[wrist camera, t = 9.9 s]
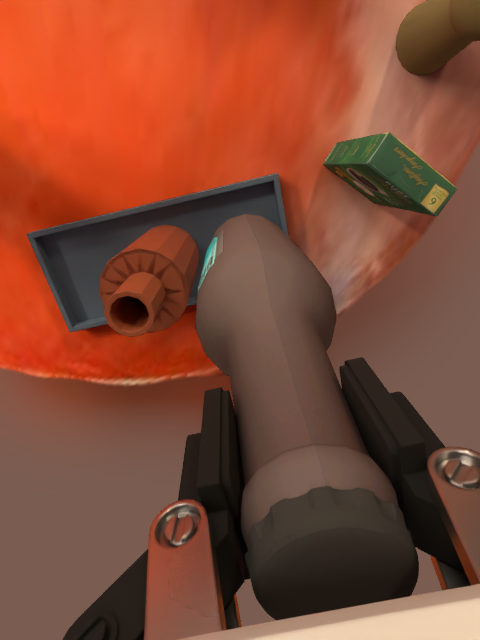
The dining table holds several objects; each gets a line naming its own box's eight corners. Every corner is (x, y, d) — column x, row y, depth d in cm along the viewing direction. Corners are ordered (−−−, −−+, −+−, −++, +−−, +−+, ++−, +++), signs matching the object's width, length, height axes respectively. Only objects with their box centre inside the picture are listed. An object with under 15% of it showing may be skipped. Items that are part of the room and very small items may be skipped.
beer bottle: (194, 230, 34) (50, 515, 6) (272, 200, 33) (533, 362, 5) (224, 302, 36) (222, 728, 9) (296, 276, 36) (551, 649, 8)
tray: (76, 326, 46) (69, 332, 45) (34, 231, 42) (26, 233, 40) (293, 277, 45) (296, 281, 43) (275, 173, 40) (278, 173, 39)
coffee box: (392, 183, 41) (462, 188, 29) (376, 206, 42) (437, 219, 30) (337, 140, 39) (387, 126, 27) (321, 164, 40) (362, 161, 28)
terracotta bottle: (148, 291, 44) (98, 369, 27) (129, 232, 42) (59, 277, 24) (205, 278, 44) (193, 348, 27) (189, 218, 41) (163, 252, 24)
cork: (421, 89, 38) (493, 58, 28) (383, 42, 36) (445, -8, 26) (468, 35, 36) (563, -18, 26) (431, -16, 35) (516, -94, 24)
